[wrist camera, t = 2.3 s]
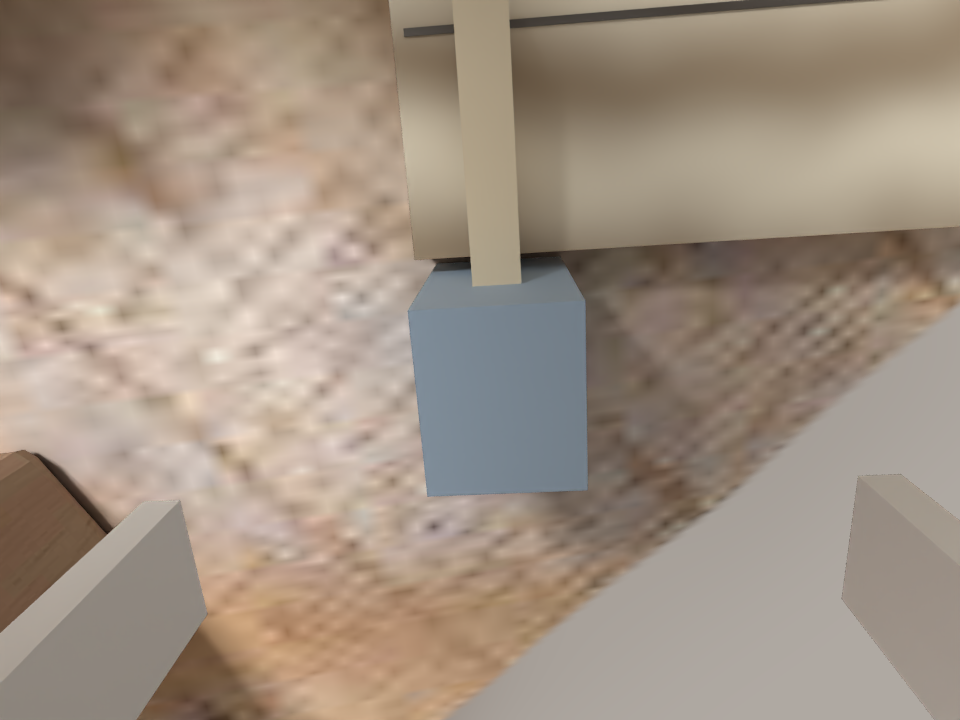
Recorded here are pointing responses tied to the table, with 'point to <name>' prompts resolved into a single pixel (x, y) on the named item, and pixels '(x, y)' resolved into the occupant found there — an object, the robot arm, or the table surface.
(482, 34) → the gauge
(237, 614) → the table surface
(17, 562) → the block
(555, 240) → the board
